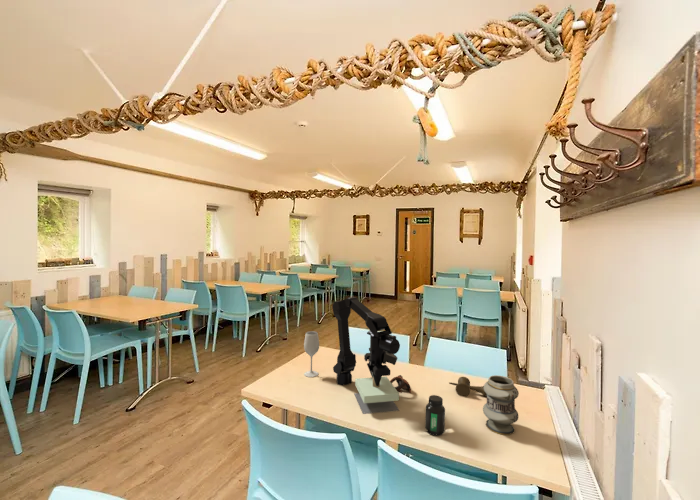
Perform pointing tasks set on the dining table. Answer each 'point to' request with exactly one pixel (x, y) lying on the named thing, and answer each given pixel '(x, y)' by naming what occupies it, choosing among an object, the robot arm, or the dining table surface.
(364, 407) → the mat
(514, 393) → the apothecary jar
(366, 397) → the lid
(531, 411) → the dining table surface
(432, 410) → the supplement bottle
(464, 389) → the kendama
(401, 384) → the pottery mug
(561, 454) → the dining table surface
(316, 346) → the wineglass
